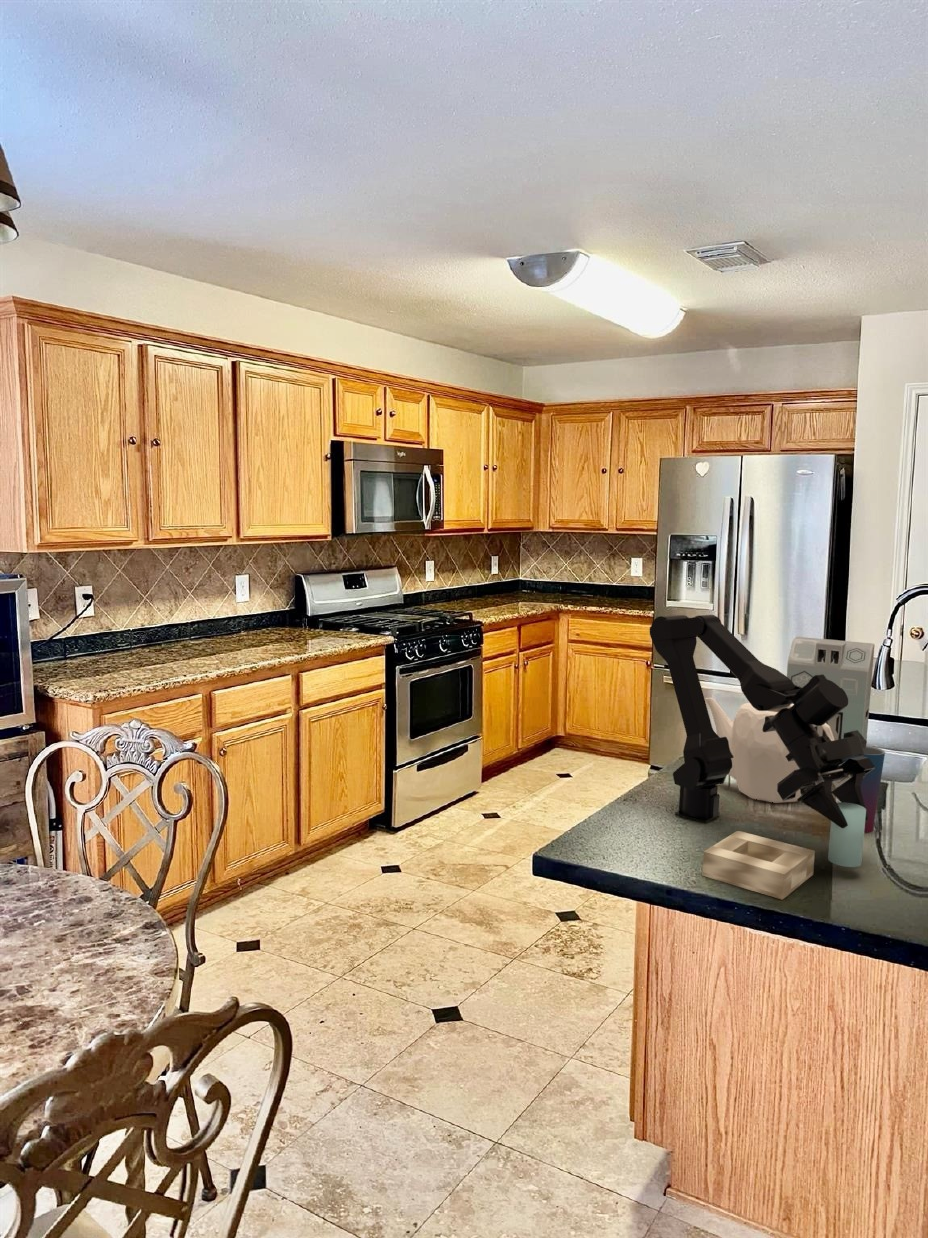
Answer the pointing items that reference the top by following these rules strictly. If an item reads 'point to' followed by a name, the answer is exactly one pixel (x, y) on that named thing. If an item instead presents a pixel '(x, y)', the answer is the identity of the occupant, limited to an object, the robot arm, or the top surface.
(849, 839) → the peg
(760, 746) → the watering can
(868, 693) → the device
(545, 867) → the top surface
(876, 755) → the cup
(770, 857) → the socket
